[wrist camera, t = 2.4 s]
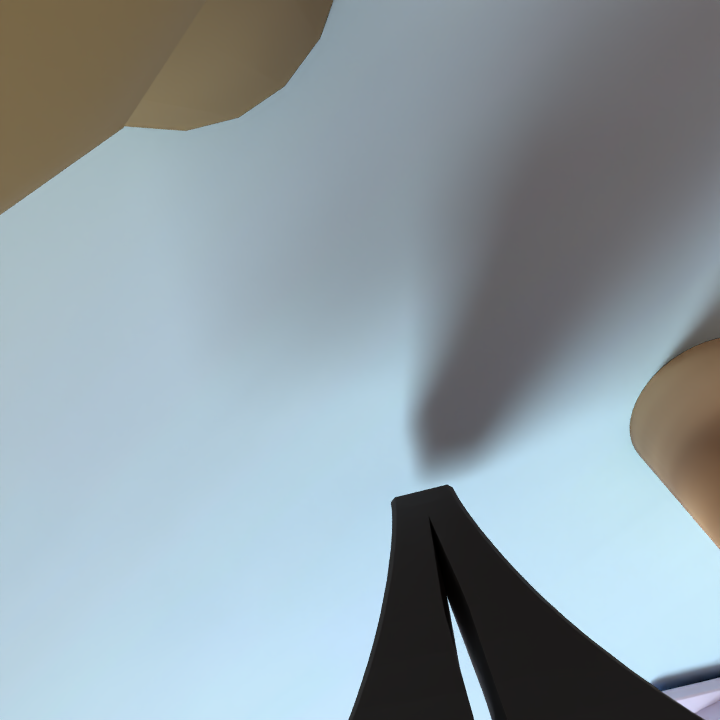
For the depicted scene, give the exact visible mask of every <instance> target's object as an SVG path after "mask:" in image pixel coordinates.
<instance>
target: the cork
mask: <svg viewBox="0 0 720 720" xmlns="http://www.w3.org/2000/svg"><path fill="white" fill-rule="evenodd" d="M332 3H333V0H0V215H1V214H2V213H4V212H5V211H6V210H8V209H9V208H11V207H12V206H13V205H15V204H16V203H18V202H19V201H20V200H22V199H23V198H25V197H26V196H28V195H29V194H30V193H32V192H33V191H35V190H36V189H37V188H39V187H40V186H42V185H43V184H45V183H46V182H47V181H49V180H50V179H52V178H53V177H54V176H56V175H57V174H59V173H60V172H61V171H63V170H64V169H66V168H67V167H69V166H70V165H71V164H73V163H74V162H76V161H77V160H78V159H80V158H81V157H83V156H84V155H85V154H87V153H88V152H90V151H91V150H93V149H94V148H95V147H97V146H98V145H100V144H101V143H102V142H104V141H105V140H107V139H108V138H109V137H111V136H112V135H114V134H115V133H117V132H118V131H119V130H121V129H122V128H123V127H124V126H129V127H142V128H155V129H168V130H182V131H187V130H191V129H195V128H199V127H203V126H207V125H211V124H215V123H219V122H223V121H227V120H231V119H235V118H239V117H240V116H242V115H243V114H245V113H246V112H247V111H249V110H250V109H252V108H253V107H255V106H256V105H258V104H259V103H261V102H262V101H264V100H265V99H267V98H268V97H270V96H271V95H272V94H274V93H275V92H277V91H278V90H280V89H281V88H283V87H284V86H285V85H286V84H287V82H288V81H289V80H290V78H291V77H292V76H293V74H294V73H295V71H296V70H297V69H298V67H299V66H300V65H301V63H302V62H303V61H304V59H305V58H306V57H307V55H308V54H309V53H310V51H311V50H312V48H313V47H314V46H315V44H316V43H317V42H318V40H319V39H320V37H321V34H322V31H323V28H324V26H325V23H326V20H327V17H328V14H329V11H330V8H331V5H332Z"/></svg>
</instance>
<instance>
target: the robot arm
mask: <svg viewBox="0 0 720 720" xmlns="http://www.w3.org/2000/svg"><path fill="white" fill-rule="evenodd" d="M391 507H392V541H391V552H390V560H389V568H388V576H387V582H386V588H385V593H384V598H383V603H382V608H381V614H380V618H379V623H378V627H377V631H376V635H375V639H374V643H373V646H372V650H371V653H370V657H369V661H368V664H367V667H366V670H365V673H364V676H363V680H362V683H361V686H360V689H359V692H358V695H357V698H356V701H355V704H354V706H353V709H352V712H351V715H350V717H349V720H474V718H473V714H472V710H471V707H470V703H469V700H468V696H467V692H466V689H465V685H464V682H463V678H462V674H461V671H460V667H459V661H458V655H457V650H456V644H455V639H454V633H453V628H452V622H451V616H450V611H449V605H448V600H449V603H450V606H451V608H452V611H453V614H454V616H455V619H456V622H457V624H458V627H459V630H460V632H461V635H462V638H463V640H464V643H465V646H466V648H467V651H468V654H469V656H470V659H471V662H472V664H473V667H474V670H475V672H476V675H477V678H478V680H479V683H480V686H481V688H482V691H483V694H484V697H485V700H486V703H487V706H488V709H489V712H490V715H491V718H492V720H720V678H716V679H711V680H707V681H703V682H699V683H695V684H690V685H686V686H682V687H678V688H673V689H669V690H665V691H660V690H659V689H657V688H656V687H654V686H653V685H652V684H650V683H649V682H647V681H646V680H644V679H643V678H642V677H640V676H639V675H637V674H636V673H634V672H633V671H632V670H630V669H629V668H628V667H626V666H625V665H624V664H623V663H621V662H620V661H619V660H617V659H616V658H615V657H613V656H612V655H611V654H610V653H608V652H607V651H606V650H604V649H603V648H602V647H600V646H599V645H598V644H597V643H595V642H594V641H593V640H591V639H590V638H589V637H588V636H586V635H585V634H584V633H583V632H582V631H580V630H579V629H578V628H577V627H576V626H575V625H573V624H572V623H571V622H570V621H569V620H568V619H566V618H565V617H564V616H563V615H562V614H561V613H560V612H559V611H557V610H556V609H555V608H554V607H553V606H552V605H551V604H550V603H549V602H548V601H547V600H545V599H544V598H543V597H542V596H541V595H540V594H539V593H538V592H537V591H536V590H535V589H534V588H533V587H532V586H531V585H530V584H529V583H528V582H527V581H526V580H525V579H524V578H523V577H522V576H521V575H520V574H519V573H518V572H517V571H516V570H515V568H514V567H513V566H512V565H511V564H510V563H509V562H508V561H507V560H506V559H505V558H504V556H503V555H502V554H501V553H500V552H499V551H498V549H497V548H496V547H495V546H494V545H493V544H492V542H491V541H490V540H489V539H488V538H487V537H486V535H485V534H484V533H483V532H482V530H481V529H480V528H479V527H478V525H477V524H476V523H475V521H474V520H473V519H472V517H471V516H470V514H469V513H468V512H467V510H466V509H465V507H464V506H463V504H462V503H461V501H460V500H459V498H458V496H457V495H456V493H455V491H454V489H453V487H451V486H449V485H444V486H440V487H436V488H432V489H427V490H423V491H419V492H415V493H411V494H407V495H403V496H399V497H395V498H394V499H393V500H392V502H391ZM447 598H448V600H447Z"/></svg>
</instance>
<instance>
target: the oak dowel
mask: <svg viewBox="0 0 720 720" xmlns="http://www.w3.org/2000/svg"><path fill="white" fill-rule="evenodd" d="M630 437H631V441H632V444H633V446H634V448H635V450H636V451H637V453H638V454H639V456H640V457H641V458H642V459H643V460H644V461H645V463H646V464H647V465H648V466H649V467H650V468H651V470H652V471H653V472H654V473H655V474H656V475H657V477H658V478H659V479H660V480H661V481H662V482H663V484H664V485H665V486H666V487H667V488H668V489H669V491H670V492H671V493H672V494H673V495H674V496H675V498H676V499H677V500H678V501H679V502H680V503H681V505H682V506H683V507H684V508H685V509H686V510H687V512H688V513H689V514H690V515H691V516H692V517H693V519H694V520H695V521H696V522H697V523H698V524H699V526H700V527H701V528H702V529H703V530H704V531H705V533H706V534H707V535H708V536H709V537H710V538H711V540H712V541H713V542H714V543H715V544H716V546H717V547H718V548H719V549H720V338H718V339H714V340H711V341H707V342H704V343H702V344H699V345H697V346H694V347H692V348H691V349H689V350H687V351H685V352H683V353H681V354H680V355H678V356H677V357H675V358H674V359H672V360H671V361H670V362H669V363H667V364H666V365H665V366H663V367H662V368H661V369H660V370H659V371H658V372H657V373H656V374H655V375H654V376H653V377H652V379H651V380H650V381H649V382H648V383H647V385H646V386H645V388H644V389H643V390H642V392H641V394H640V395H639V397H638V399H637V401H636V403H635V406H634V408H633V411H632V415H631V419H630Z"/></svg>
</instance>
